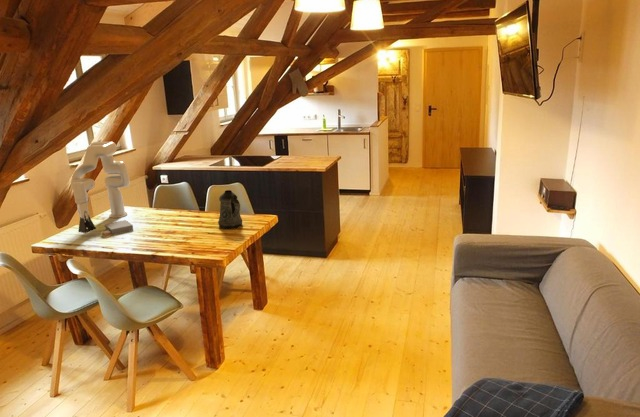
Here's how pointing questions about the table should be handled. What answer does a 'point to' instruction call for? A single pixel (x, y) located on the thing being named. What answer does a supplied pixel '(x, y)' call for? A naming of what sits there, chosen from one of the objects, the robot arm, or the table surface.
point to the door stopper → (83, 227)
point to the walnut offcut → (106, 233)
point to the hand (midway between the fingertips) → (86, 225)
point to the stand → (119, 227)
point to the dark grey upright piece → (229, 211)
